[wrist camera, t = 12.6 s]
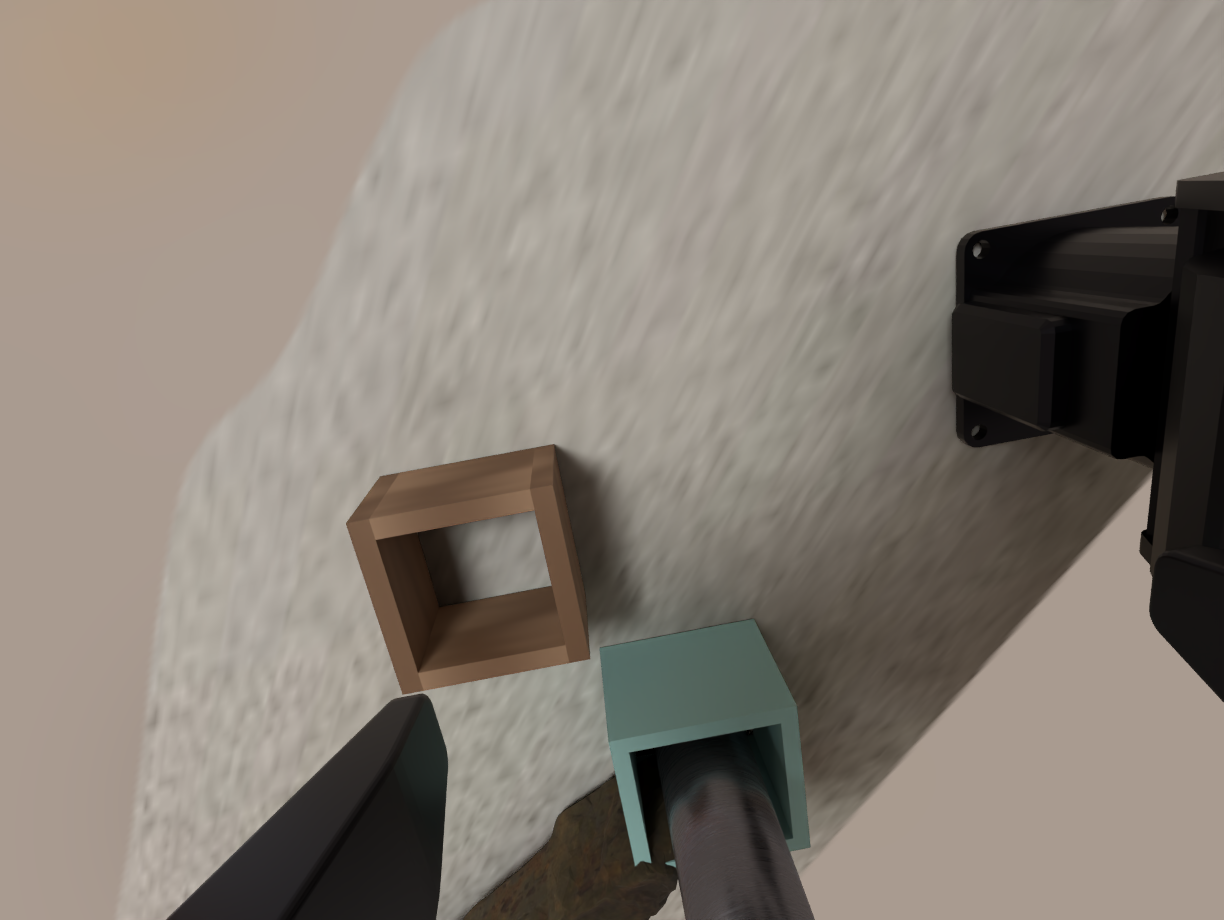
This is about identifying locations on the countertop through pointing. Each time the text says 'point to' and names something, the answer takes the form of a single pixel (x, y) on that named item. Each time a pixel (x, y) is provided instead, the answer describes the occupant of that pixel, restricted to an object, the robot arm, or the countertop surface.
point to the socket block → (482, 629)
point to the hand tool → (593, 863)
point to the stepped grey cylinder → (727, 833)
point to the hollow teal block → (703, 714)
